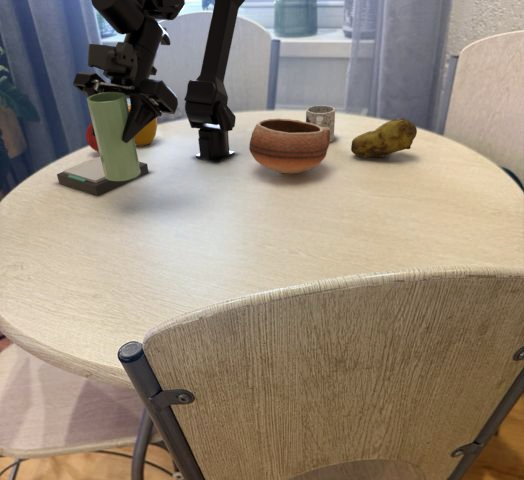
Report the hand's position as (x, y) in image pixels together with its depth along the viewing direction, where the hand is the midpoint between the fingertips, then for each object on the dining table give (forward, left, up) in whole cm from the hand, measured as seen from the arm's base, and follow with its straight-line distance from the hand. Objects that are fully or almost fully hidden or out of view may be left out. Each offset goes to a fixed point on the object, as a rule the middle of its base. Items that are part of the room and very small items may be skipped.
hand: (109, 139), depth 91 cm
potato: (-49, +29, -13) cm, 58 cm away
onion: (-19, -27, -13) cm, 36 cm away
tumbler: (-1, 0, -7) cm, 7 cm away
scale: (-9, -15, -13) cm, 22 cm away
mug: (-51, +12, -13) cm, 54 cm away
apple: (-29, -24, -13) cm, 40 cm away
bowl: (-32, +16, -13) cm, 38 cm away
